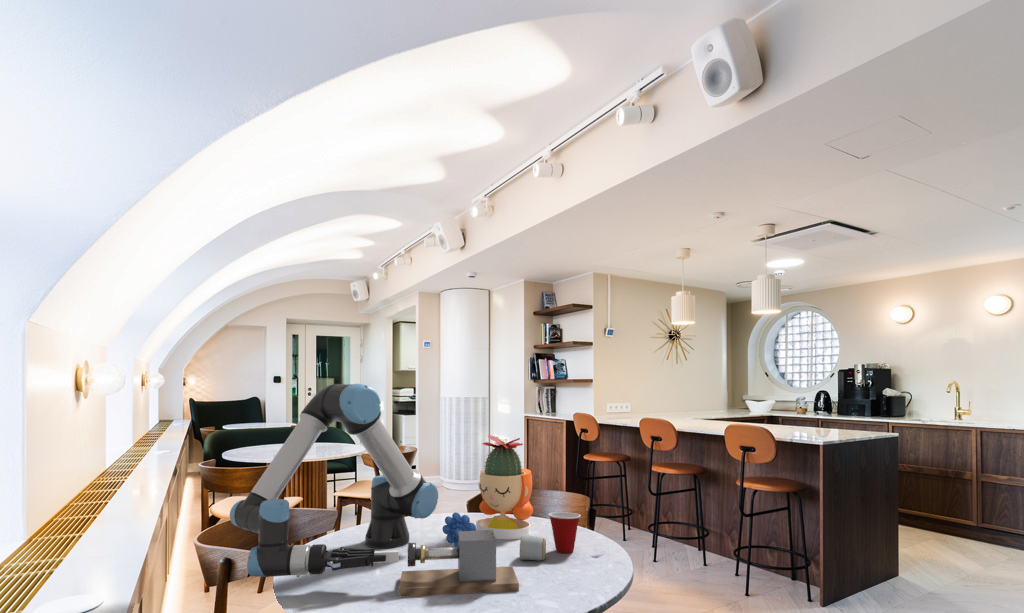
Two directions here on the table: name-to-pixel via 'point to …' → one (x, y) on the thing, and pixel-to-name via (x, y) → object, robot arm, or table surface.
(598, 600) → the table surface
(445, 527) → the grapes
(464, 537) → the bearing block
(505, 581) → the base plate
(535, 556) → the ceramic mug
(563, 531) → the plastic cup
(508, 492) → the potted cactus
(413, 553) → the shaft
